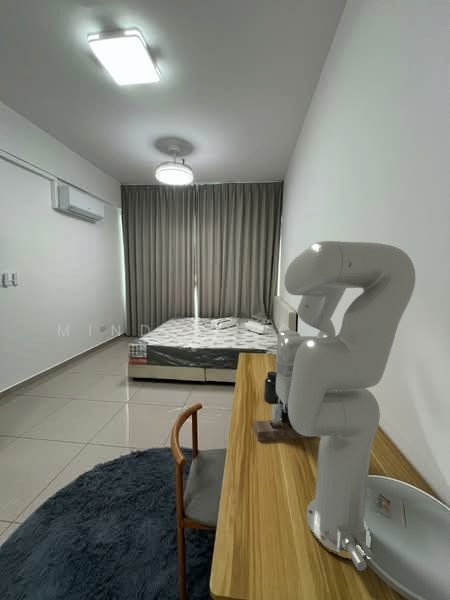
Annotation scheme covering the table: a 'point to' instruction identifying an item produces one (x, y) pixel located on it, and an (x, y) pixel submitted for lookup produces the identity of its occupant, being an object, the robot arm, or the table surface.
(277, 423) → the grey boxy piece
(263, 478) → the table surface
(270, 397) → the supplement bottle
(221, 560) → the table surface
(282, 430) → the rail
